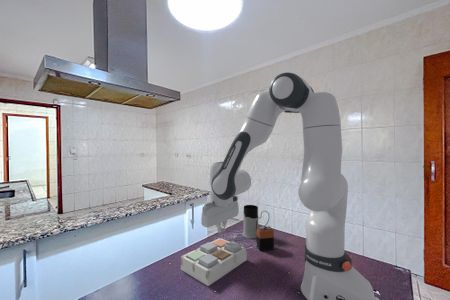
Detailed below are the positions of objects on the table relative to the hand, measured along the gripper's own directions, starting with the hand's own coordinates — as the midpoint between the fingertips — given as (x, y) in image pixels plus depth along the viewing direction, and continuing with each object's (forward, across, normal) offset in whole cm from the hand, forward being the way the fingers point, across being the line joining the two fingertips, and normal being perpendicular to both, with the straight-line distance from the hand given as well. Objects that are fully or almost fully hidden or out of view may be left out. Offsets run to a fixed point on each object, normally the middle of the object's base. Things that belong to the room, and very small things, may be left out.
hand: (221, 231), depth 93 cm
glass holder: (+11, +27, 0) cm, 29 cm away
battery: (+11, +18, -10) cm, 23 cm away
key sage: (+8, -14, +1) cm, 16 cm away
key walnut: (+8, -7, -6) cm, 12 cm away
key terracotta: (+8, 0, +1) cm, 8 cm away
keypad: (+10, -7, -2) cm, 13 cm away
